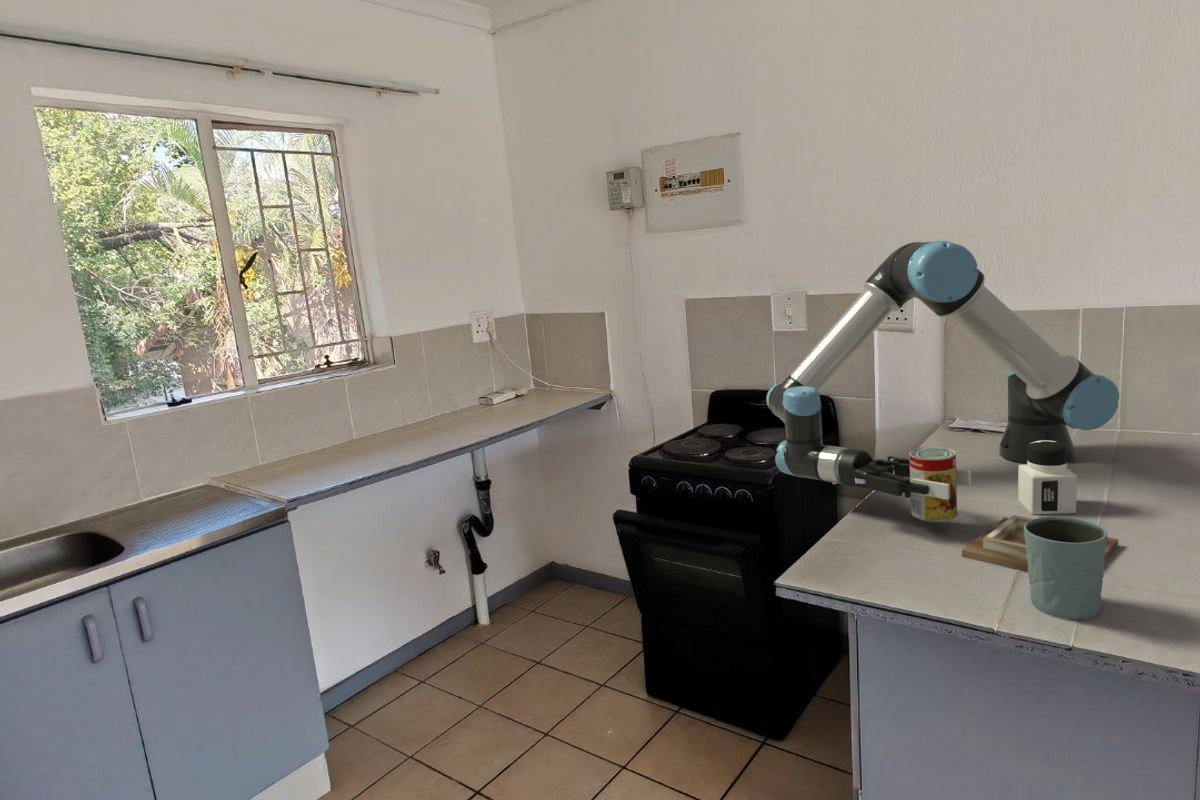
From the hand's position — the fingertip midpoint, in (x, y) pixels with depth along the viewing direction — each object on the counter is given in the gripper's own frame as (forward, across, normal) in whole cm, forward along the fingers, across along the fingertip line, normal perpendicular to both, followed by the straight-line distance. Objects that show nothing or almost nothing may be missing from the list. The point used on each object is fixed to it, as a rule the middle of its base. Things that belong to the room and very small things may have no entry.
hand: (959, 484), depth 133 cm
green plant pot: (+22, +17, -10) cm, 30 cm away
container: (+7, -21, -10) cm, 24 cm away
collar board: (+13, 0, -10) cm, 16 cm away
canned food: (-5, 0, -7) cm, 8 cm away
